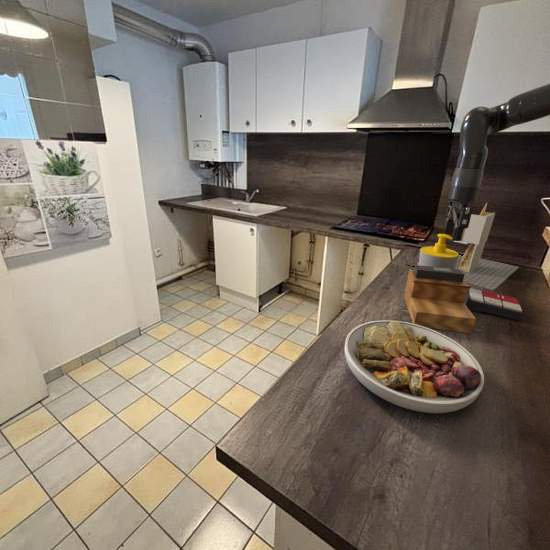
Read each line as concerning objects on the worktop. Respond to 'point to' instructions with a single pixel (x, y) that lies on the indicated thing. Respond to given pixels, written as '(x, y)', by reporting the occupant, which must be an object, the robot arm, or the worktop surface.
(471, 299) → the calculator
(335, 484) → the worktop surface
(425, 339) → the bowl
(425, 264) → the soap bottle
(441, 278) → the remote
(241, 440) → the worktop surface
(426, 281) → the shelf
